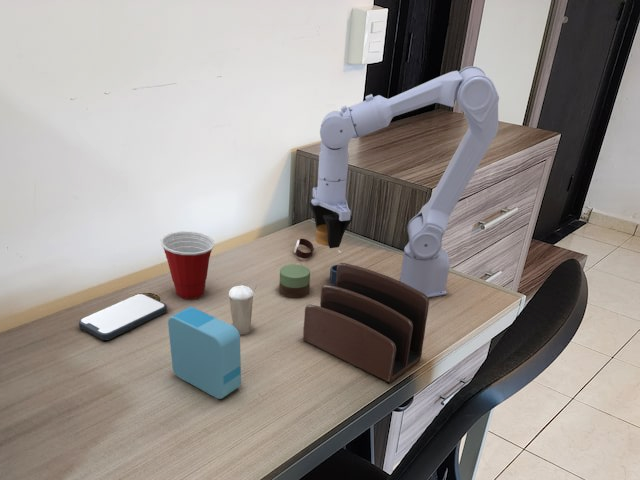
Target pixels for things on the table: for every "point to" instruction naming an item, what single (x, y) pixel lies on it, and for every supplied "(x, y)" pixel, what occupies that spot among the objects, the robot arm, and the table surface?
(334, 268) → the small cup
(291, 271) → the sage chip
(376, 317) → the letter holder
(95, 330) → the smartphone
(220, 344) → the data package
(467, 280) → the table surface
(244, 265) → the table surface
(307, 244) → the watch
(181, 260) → the plastic cup
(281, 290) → the walnut chip
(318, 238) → the orange short cylinder
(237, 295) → the milkshake
